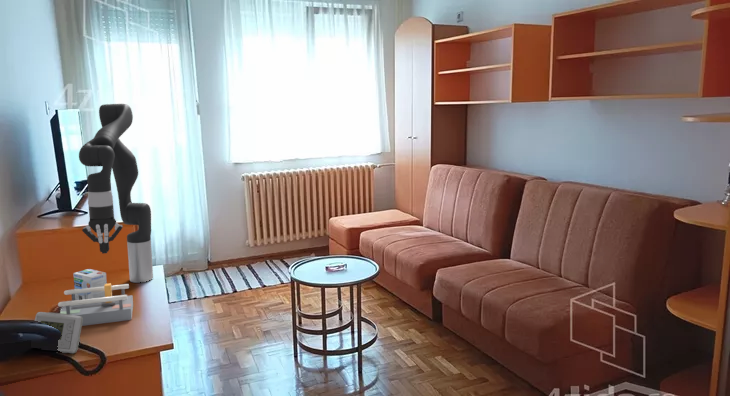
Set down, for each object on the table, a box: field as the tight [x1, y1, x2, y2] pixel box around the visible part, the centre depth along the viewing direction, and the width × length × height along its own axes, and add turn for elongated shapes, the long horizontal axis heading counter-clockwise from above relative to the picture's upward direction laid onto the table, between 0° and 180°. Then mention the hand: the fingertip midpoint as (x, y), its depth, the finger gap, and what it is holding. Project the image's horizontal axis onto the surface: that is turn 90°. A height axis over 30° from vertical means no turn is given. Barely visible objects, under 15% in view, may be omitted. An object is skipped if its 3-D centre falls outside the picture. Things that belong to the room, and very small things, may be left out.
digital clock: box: [34, 311, 83, 354], centre depth 157 cm, size 16×9×11 cm, turn 66°
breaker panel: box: [57, 283, 134, 327], centre depth 181 cm, size 14×22×9 cm, turn 111°
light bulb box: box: [72, 268, 108, 300], centre depth 197 cm, size 11×7×11 cm, turn 62°
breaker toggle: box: [102, 282, 116, 306], centre depth 182 cm, size 4×4×7 cm
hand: (104, 252), depth 180 cm, fingers closed
